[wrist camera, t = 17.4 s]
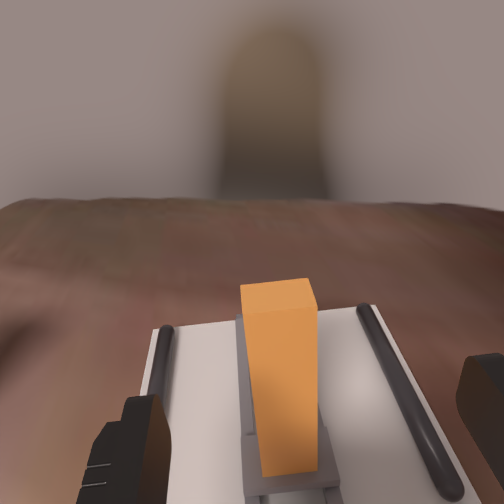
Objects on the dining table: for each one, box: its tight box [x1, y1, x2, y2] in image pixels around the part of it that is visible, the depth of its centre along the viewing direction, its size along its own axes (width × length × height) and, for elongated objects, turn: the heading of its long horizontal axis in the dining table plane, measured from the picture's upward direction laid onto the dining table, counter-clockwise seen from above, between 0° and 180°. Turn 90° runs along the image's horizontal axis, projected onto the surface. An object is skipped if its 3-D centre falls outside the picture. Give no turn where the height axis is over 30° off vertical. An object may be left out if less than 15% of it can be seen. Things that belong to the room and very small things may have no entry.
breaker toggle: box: [240, 278, 340, 497], centre depth 20 cm, size 5×3×12 cm, turn 94°
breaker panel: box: [140, 303, 482, 504], centre depth 28 cm, size 20×18×3 cm
